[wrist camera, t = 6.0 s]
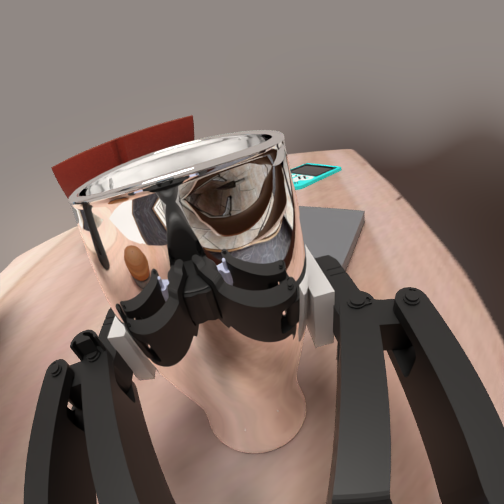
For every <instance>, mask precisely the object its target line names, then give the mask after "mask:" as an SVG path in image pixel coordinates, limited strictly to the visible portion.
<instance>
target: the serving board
mask: <svg viewBox="0 0 504 504" xmlns="http://www.w3.org/2000/svg"><path fill="white" fill-rule="evenodd" d="M299 211H300V216H301V221H302V226H303V233H304V241H305V245H306V246H307V248H308V249H309V251H310V253H311V254H312V256H313V257H314V258H317V257H321V256H326V255H330V256H332V257H333V258H335V259H337V260H338V262H339V263H340V264H341V266H342V267H343V268H344V270H345V271H346V268H347V266H348V263H349V261H350V258H351V256H352V253H353V251H354V248H355V246H356V243H357V240H358V238H359V235H360V232H361V230H362V227H363V224H364V211H359V210H347V209H335V208H321V207H305V206H299Z"/></svg>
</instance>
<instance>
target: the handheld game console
mask: <svg viewBox="0 0 504 504" xmlns="http://www.w3.org/2000/svg"><path fill="white" fill-rule="evenodd" d="M339 171H341V167H337V166H330V165H321V164H310V163H306V164H303V165H301V166H298V167H296V168H293V169H291V174H292V178H293V183H294V187H295V190H298V189H302V188H305V187H307V186H309V185H311V184H313V183H315V182H317V181H319V180H322V179H324V178H326V177H328V176H330V175H332V174H334V173H337V172H339Z"/></svg>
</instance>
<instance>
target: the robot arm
mask: <svg viewBox="0 0 504 504" xmlns="http://www.w3.org/2000/svg"><path fill="white" fill-rule="evenodd" d="M305 248H306V256H307V268H308V296H309V297H308V310H307V320H306V325H307V328H308V330H309V332H310V335H311V337H312V340H313V342H314V345H315V347H316V348H317V347H320V346H324V345H327V344H330V343H333V342H334V335H335V337H336V339H337V341H338V346H337V395H336V416H335V431H334V443H333V454H332V464H331V473H330V481H329V488H328V495H327V502H326V504H392V501H391V499H390V473H391V435H390V413H389V398H388V387H387V377H386V368H385V360H384V352H383V351H384V350H387V352H388V355H389V357H390V359H391V361H392V364H393V366H394V368H395V370H396V373H397V375H398V377H399V380H400V382H401V385H402V387H403V389H404V392H405V394H406V397H407V399H408V402H409V404H410V407H411V410H412V412H413V415H414V417H415V420H416V423H417V426H418V428H419V431H420V434H421V437H422V440H423V443H424V446H425V449H426V452H427V455H428V458H429V461H430V464H431V467H432V471H433V474H434V478H435V481H436V485H437V488H438V492H439V496H440V499H441V502H442V504H504V427H503V424H502V422H501V420H500V418H499V415H498V413H497V411H496V409H495V407H494V405H493V403H492V401H491V399H490V397H489V395H488V393H487V391H486V389H485V387H484V385H483V383H482V382H481V380H480V378H479V376H478V374H477V372H476V371H475V369H474V367H473V365H472V364H471V362H470V360H469V359H468V357H467V355H466V354H465V352H464V350H463V349H462V347H461V346H460V344H459V342H458V341H457V339H456V338H455V336H454V335H453V333H452V332H451V330H450V329H449V327H448V326H447V324H446V323H445V321H444V320H443V318H442V317H441V315H440V314H439V312H438V311H437V310H436V308H435V307H434V305H433V304H432V303H431V301H430V300H429V298H428V297H427V296H426V294H424V293H423V292H422V291H421V290H419V289H417V288H411V287H408V288H403V289H401V290H399V291H398V292H397V293H396V296H395V299H387V300H376V299H374V298H373V297H372V296H371V295H370V294H368V293H366V292H363V291H360V290H359V289H358V288H357V286H356V285H355V283H354V282H353V281H352V279H351V278H350V277H349V275H348V274H347V273H346V271H345V270H344V268H343V267H342V266H341V264H340V263H339V262H338V260H337V259H335V258H333V257H332V256H330V255H326V256H321V257H317V258H314V257H313V256H312V254H311V253H310V251H309V249H308V248H307V246H306V245H305ZM70 348H71V349H72V350H73V351H74V353H75V354H76V355H77V356H78V358H79V359H80V360H81V362H78V363H76V364H73V365H70V366H69V364H68V363H67V362H66V361H65V360H63V359H59V360H56V361H54V362H53V363H51V365H50V366H49V367H48V369H47V371H46V374H45V377H44V381H43V384H42V388H41V391H40V395H39V399H38V403H37V407H36V411H35V416H34V420H33V425H32V430H31V435H30V441H29V447H28V454H27V462H26V471H25V484H24V504H97V502H96V494H97V498H98V501H99V504H175V501H174V499H173V497H172V495H171V492H170V490H169V488H168V485H167V483H166V480H165V478H164V475H163V473H162V470H161V467H160V465H159V462H158V459H157V456H156V453H155V451H154V448H153V445H152V442H151V438H150V435H149V432H148V429H147V425H146V422H145V419H144V415H143V411H142V408H141V404H140V400H139V396H138V392H137V388H136V385H135V384H134V382H133V381H132V376H133V373H134V375H135V376H136V377H137V378H138V379H139V380H148V379H155V371H156V369H155V368H154V367H153V366H152V365H151V364H150V363H149V362H148V360H147V359H146V358H145V357H144V356H143V355H142V354H141V353H140V351H139V350H138V349H137V347H136V346H135V345H134V343H133V342H132V340H131V339H130V338H129V336H128V335H127V333H126V332H125V330H124V329H123V327H122V326H121V324H120V323H119V321H118V319H117V317H116V316H115V314H114V312H113V310H112V308H110V309H109V310H108V313H107V315H106V320H105V321H104V323H103V326H102V329H101V331H100V334H99V337H98V336H97V334H96V333H95V332H94V331H93V330H85V331H82V332H81V333H79V334H78V335H77V336H75V337H74V339H73V340H72V342H71V345H70ZM68 401H69V402H70V403H71V404H72V405H73V406H72V409H71V410H70V409H69V408H68V407H67V405H68Z"/></svg>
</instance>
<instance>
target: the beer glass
mask: <svg viewBox="0 0 504 504" xmlns="http://www.w3.org/2000/svg"><path fill="white" fill-rule="evenodd" d="M69 203H70V205H71V207H72V210H73V213H74V216H75V219H76V222H77V224H78V228H79V231H80V234H81V237H82V240H83V243H84V246H85V249H86V252H87V254H88V257H89V260H90V262H91V265H92V267H93V270H94V272H95V275H96V277H97V279H98V282H99V284H100V286H101V289H102V291H103V293H104V295H105V297H106V299H107V301H108V303H109V304H110V306H111V308H112V310H113V312H114V314H115V316H116V317H117V319H118V321H119V323H120V324H121V326H122V327H123V329H124V330H125V332H126V333H127V335H128V336H129V338H130V339H131V340H132V342H133V343H134V345H135V346H136V347H137V349H138V350H139V351H140V353H141V354H142V355H143V356H144V357H145V358H146V359H147V360H148V362H149V363H150V364H151V365H152V366H153V367H154V368H155V369H156V370H157V371H158V372H159V373H160V374H161V375H162V376H163V377H164V378H165V379H167V380H168V381H169V382H170V383H171V384H172V385H174V386H175V387H176V388H177V389H178V390H180V391H181V392H182V393H183V394H185V395H186V396H187V397H188V398H190V399H191V400H192V401H194V402H195V403H196V404H198V405H199V406H200V407H201V408H202V409H203V410H204V411H205V412H206V415H207V418H208V421H209V424H210V427H211V429H212V431H213V432H214V434H215V435H216V437H217V438H218V439H219V440H220V441H221V442H222V443H223V444H225V445H226V446H228V447H230V448H232V449H234V450H237V451H240V452H244V453H265V452H269V451H272V450H275V449H277V448H280V447H282V446H283V445H285V444H286V443H288V442H289V441H290V440H291V439H293V438H294V437H295V435H296V434H297V433H298V432H299V430H300V428H301V427H302V424H303V422H304V419H305V416H306V401H305V397H304V395H303V392H302V390H301V388H300V386H299V384H298V382H297V370H298V365H299V360H300V356H301V351H302V346H303V340H304V335H305V329H306V320H307V310H308V297H309V296H308V268H307V256H306V248H305V241H304V233H303V226H302V221H301V216H300V211H299V206H298V201H297V196H296V191H295V187H294V183H293V178H292V174H291V170H290V166H289V161H288V157H287V153H286V148H285V143H284V135H283V134H282V133H281V132H278V131H273V130H256V131H244V132H235V133H228V134H222V135H217V136H212V137H207V138H202V139H198V140H193V141H189V142H186V143H182V144H178V145H175V146H171V147H168V148H165V149H161V150H158V151H155V152H152V153H149V154H147V155H144V156H141V157H138V158H136V159H133V160H131V161H128V162H126V163H124V164H121V165H119V166H117V167H115V168H112V169H110V170H108V171H106V172H104V173H102V174H100V175H98V176H96V177H95V178H93V179H91V180H89V181H88V182H86V183H85V184H83V185H82V186H80V187H79V188H77V189H76V190H75V191H74V192H73V193H72V194H71V195H70V196H69Z"/></svg>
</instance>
